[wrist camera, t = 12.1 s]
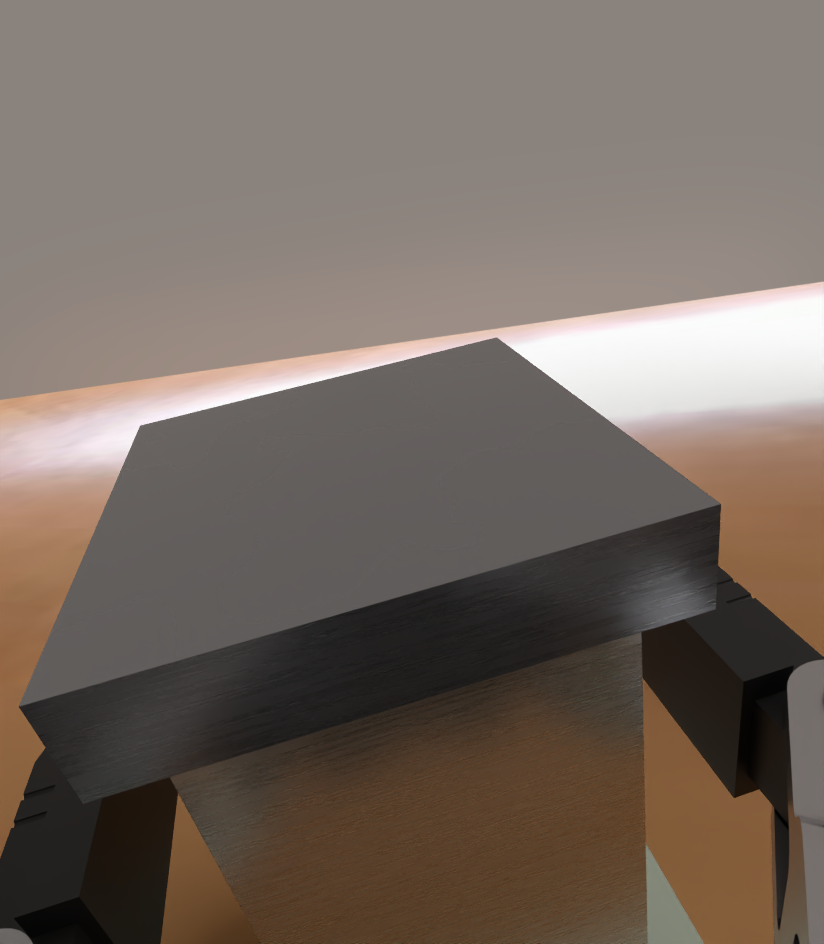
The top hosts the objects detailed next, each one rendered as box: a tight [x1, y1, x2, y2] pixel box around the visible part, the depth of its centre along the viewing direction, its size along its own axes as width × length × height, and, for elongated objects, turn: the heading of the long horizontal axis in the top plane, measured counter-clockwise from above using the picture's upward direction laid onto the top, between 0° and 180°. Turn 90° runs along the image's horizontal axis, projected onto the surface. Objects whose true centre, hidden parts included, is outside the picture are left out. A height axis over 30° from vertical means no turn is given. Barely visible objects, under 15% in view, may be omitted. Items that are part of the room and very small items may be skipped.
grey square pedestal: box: [19, 338, 721, 944], centre depth 11 cm, size 6×6×12 cm
